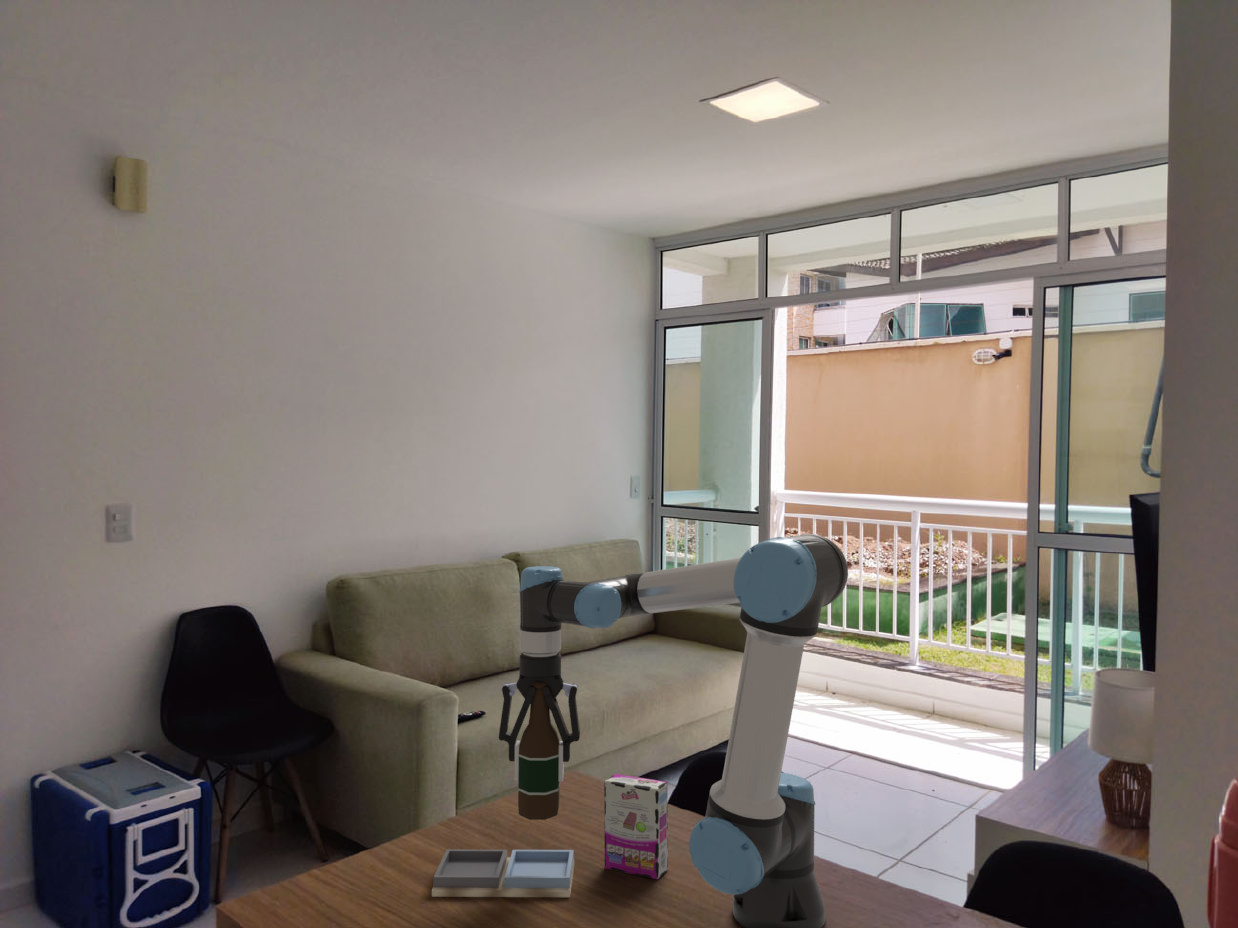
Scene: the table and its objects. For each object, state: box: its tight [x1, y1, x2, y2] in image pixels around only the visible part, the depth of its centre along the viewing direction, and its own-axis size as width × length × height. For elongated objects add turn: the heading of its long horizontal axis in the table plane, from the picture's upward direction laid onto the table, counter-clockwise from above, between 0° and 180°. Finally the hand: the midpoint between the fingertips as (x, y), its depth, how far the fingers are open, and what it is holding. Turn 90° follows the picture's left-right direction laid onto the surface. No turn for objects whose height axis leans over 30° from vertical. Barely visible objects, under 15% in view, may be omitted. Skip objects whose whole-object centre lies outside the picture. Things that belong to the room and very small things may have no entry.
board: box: [431, 856, 575, 898], centre depth 160 cm, size 24×13×1 cm, turn 90°
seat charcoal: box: [432, 848, 508, 888], centre depth 160 cm, size 11×11×2 cm
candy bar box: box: [603, 773, 669, 880], centre depth 164 cm, size 11×5×16 cm, turn 64°
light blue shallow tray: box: [504, 849, 575, 888], centre depth 160 cm, size 11×11×2 cm
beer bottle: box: [517, 681, 561, 821], centre depth 160 cm, size 8×8×24 cm
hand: (539, 778), depth 160 cm, fingers closed on beer bottle, 7 cm apart
